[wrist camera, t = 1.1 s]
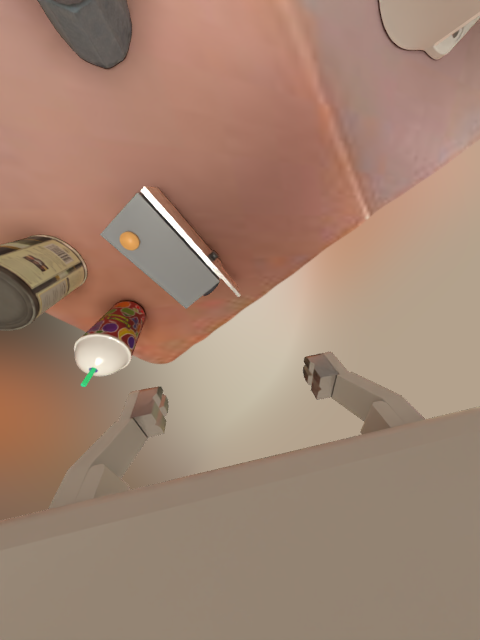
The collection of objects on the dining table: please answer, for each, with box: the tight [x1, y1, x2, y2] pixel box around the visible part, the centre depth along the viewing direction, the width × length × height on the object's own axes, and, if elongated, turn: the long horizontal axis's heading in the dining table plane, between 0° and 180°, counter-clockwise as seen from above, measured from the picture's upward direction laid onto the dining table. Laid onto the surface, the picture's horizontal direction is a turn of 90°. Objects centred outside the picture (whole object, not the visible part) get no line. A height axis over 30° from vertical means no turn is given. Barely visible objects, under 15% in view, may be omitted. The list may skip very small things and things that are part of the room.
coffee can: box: [0, 235, 87, 330], centre depth 30 cm, size 10×10×14 cm
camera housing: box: [100, 193, 220, 308], centre depth 33 cm, size 8×17×10 cm, turn 37°
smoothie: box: [74, 301, 145, 387], centre depth 35 cm, size 8×8×20 cm
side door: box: [141, 186, 241, 297], centre depth 33 cm, size 2×21×8 cm, turn 37°
